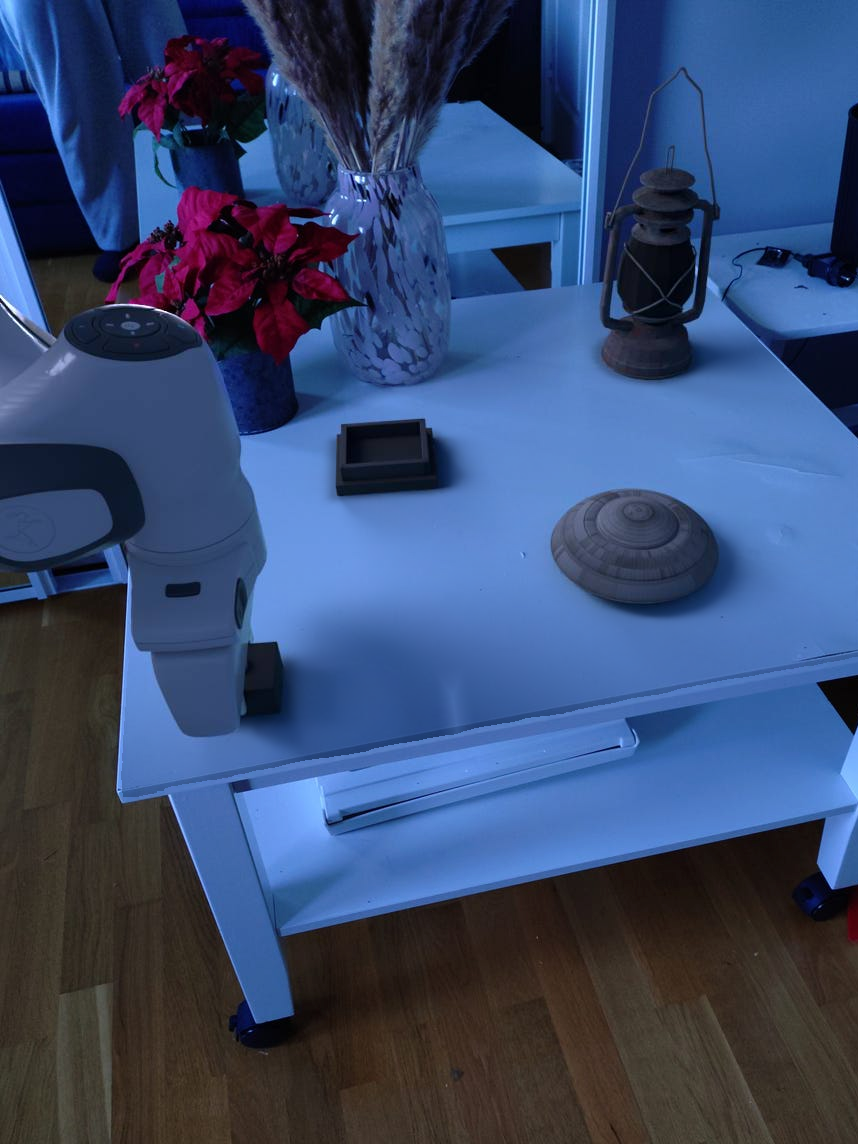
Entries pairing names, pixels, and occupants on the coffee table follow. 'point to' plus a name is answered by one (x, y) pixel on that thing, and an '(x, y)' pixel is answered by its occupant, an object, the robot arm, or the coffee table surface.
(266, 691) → the small block
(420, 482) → the black open box
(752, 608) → the coffee table surface
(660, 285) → the lantern
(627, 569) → the flying saucer
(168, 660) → the robot arm
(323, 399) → the coffee table surface
